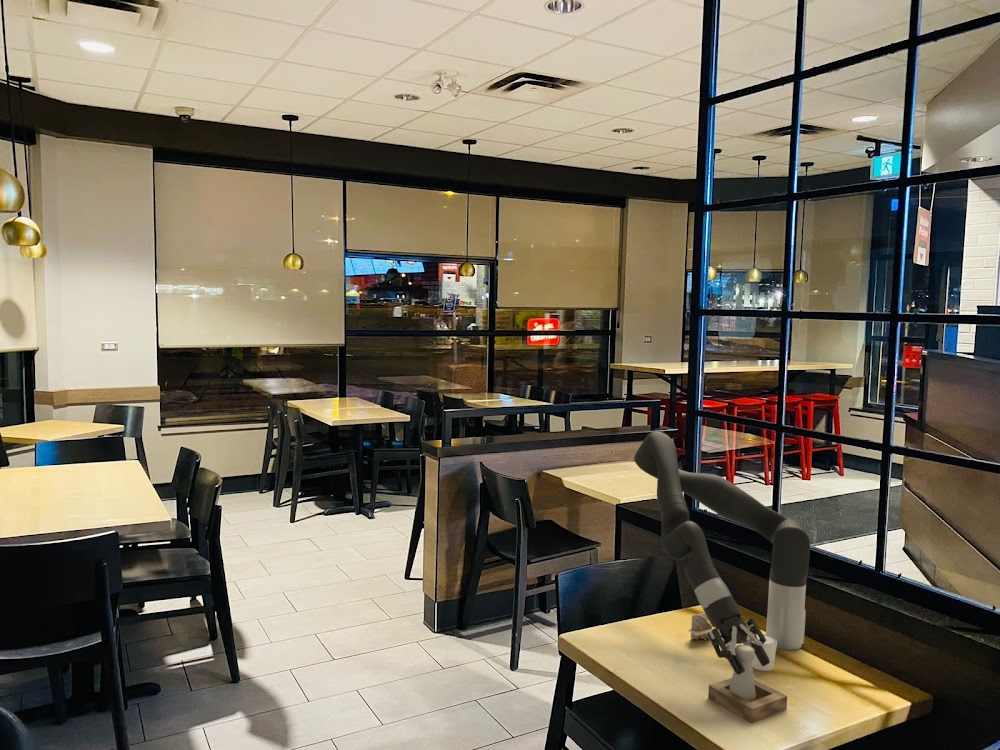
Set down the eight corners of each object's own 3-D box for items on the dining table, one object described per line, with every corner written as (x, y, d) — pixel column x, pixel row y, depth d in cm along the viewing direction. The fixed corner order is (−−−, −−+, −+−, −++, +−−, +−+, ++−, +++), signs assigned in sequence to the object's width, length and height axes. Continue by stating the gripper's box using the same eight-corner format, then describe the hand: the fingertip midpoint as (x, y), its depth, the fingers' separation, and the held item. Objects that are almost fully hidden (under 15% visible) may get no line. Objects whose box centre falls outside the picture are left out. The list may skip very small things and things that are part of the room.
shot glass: (776, 663, 190) (778, 636, 189) (774, 674, 184) (776, 646, 183) (748, 657, 193) (750, 631, 192) (745, 668, 186) (747, 641, 186)
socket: (743, 685, 177) (743, 673, 177) (786, 708, 167) (787, 695, 167) (708, 698, 170) (708, 685, 170) (751, 722, 160) (752, 709, 160)
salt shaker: (756, 710, 166) (760, 654, 165) (730, 707, 167) (733, 651, 166) (752, 698, 171) (756, 643, 170) (727, 694, 172) (730, 640, 171)
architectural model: (715, 643, 202) (716, 616, 201) (695, 647, 199) (697, 620, 198) (706, 638, 205) (708, 612, 204) (686, 642, 202) (688, 615, 201)
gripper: (727, 604, 182) (764, 668, 173) (686, 614, 174) (722, 682, 166) (746, 589, 177) (785, 655, 168) (705, 599, 170) (743, 669, 161)
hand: (754, 668), depth 167 cm, fingers open, 8 cm apart
